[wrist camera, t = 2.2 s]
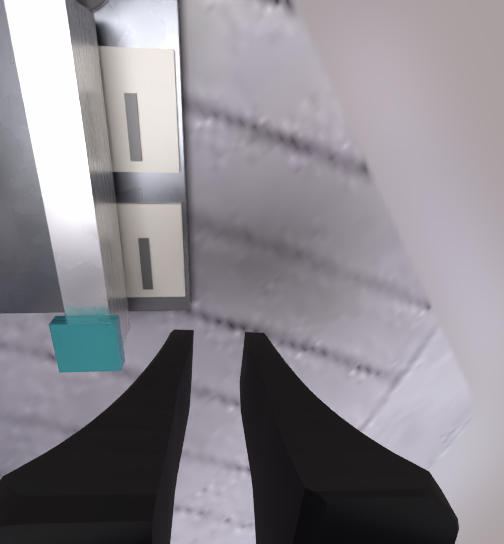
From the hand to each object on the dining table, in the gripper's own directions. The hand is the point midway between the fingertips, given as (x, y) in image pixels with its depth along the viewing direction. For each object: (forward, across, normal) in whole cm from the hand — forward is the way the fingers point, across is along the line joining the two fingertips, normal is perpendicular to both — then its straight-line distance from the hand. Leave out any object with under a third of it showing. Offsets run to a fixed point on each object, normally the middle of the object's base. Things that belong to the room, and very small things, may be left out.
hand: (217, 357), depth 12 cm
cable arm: (+8, +6, -3) cm, 10 cm away
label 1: (+9, +5, -7) cm, 12 cm away
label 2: (+9, +4, 0) cm, 10 cm away
